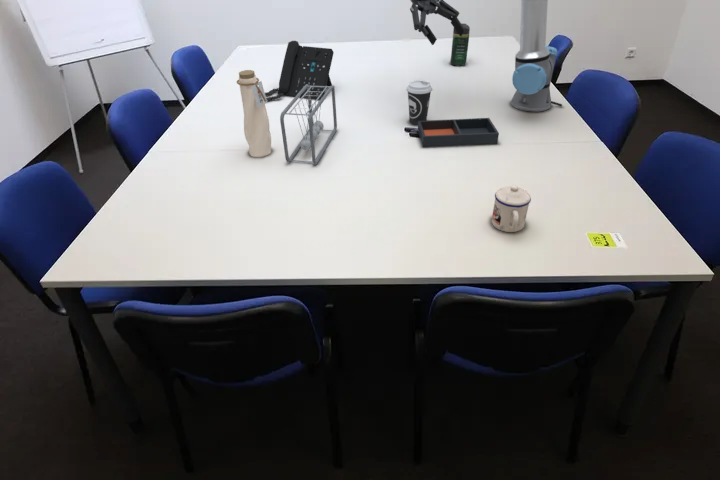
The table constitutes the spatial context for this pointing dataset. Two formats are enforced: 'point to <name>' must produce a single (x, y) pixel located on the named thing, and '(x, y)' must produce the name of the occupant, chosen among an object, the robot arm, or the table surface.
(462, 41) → the green shampoo bottle
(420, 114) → the coffee cup
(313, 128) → the newton's cradle
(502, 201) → the teacup with lid
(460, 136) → the divided storage tray
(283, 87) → the office phone
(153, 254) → the table surface
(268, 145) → the water bottle
